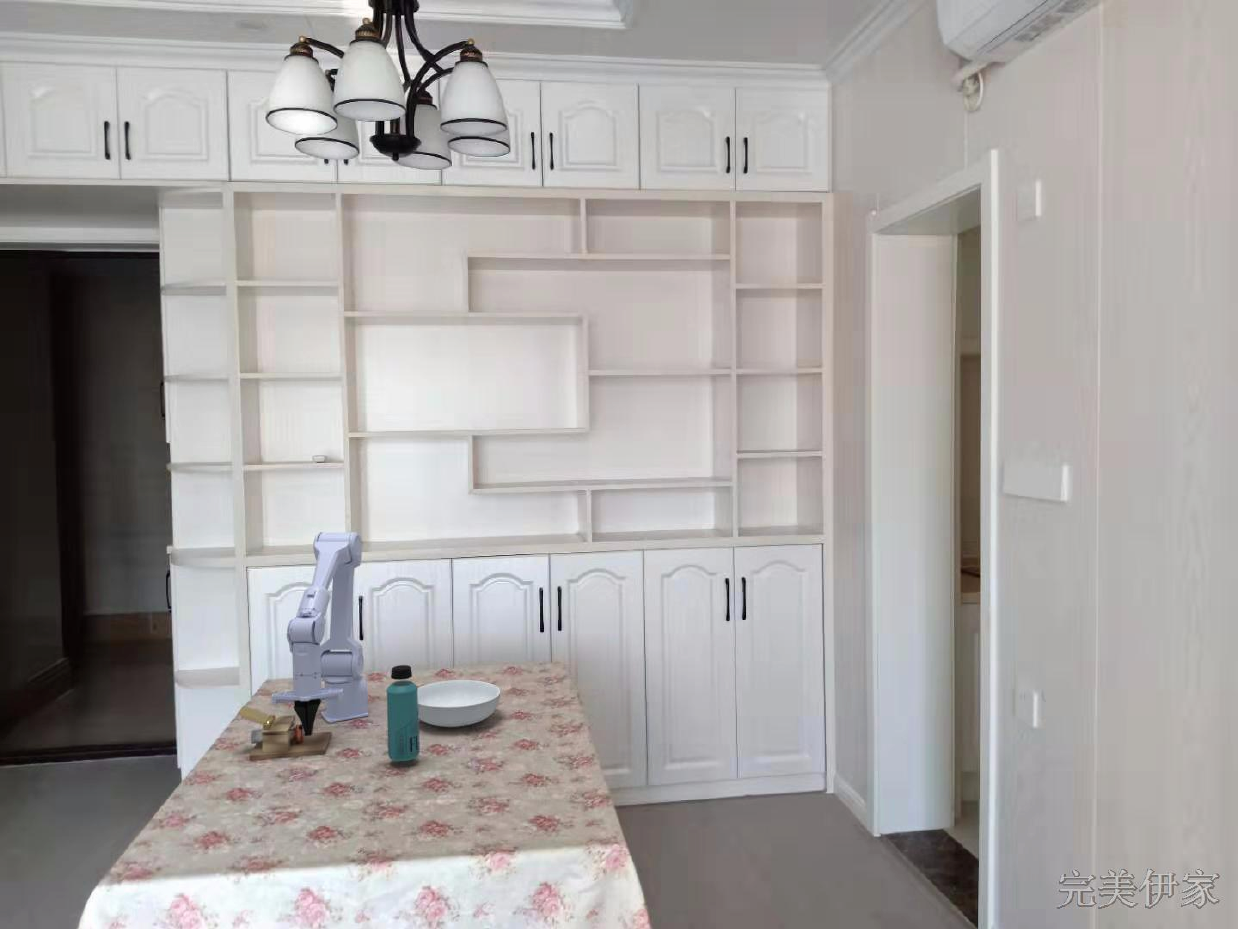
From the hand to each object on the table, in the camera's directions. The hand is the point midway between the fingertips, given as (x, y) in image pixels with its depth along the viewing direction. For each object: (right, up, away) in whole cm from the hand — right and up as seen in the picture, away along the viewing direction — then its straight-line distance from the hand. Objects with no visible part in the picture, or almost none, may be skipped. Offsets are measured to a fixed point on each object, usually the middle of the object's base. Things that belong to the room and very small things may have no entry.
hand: (308, 734), depth 187 cm
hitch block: (-3, -3, 0) cm, 4 cm away
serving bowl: (+29, -2, +16) cm, 33 cm away
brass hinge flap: (-11, +4, -2) cm, 12 cm away
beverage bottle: (+23, -3, -9) cm, 25 cm away
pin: (-6, -2, -1) cm, 7 cm away
